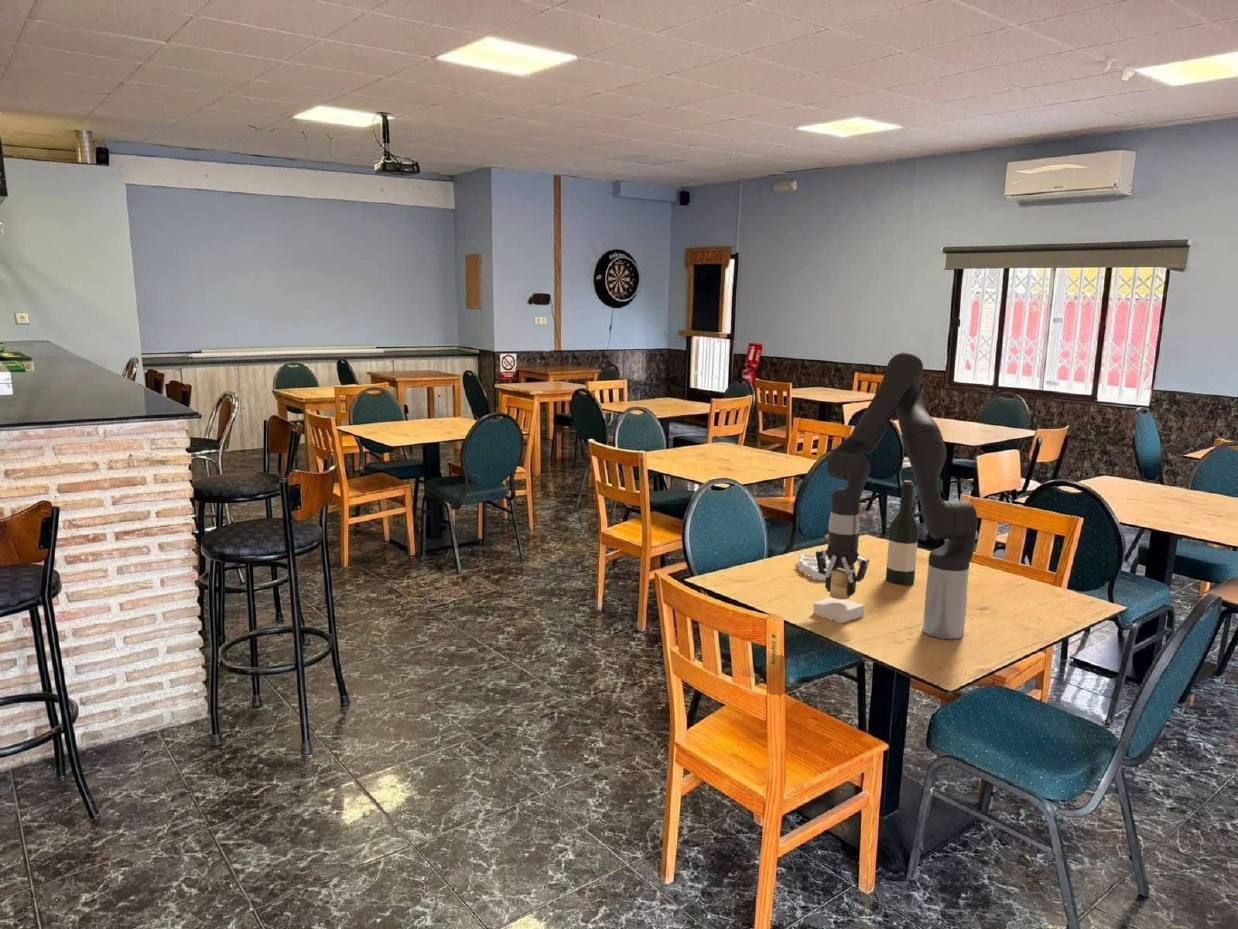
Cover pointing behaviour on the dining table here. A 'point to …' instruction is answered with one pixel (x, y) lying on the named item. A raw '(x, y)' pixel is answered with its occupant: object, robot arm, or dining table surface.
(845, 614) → the white base
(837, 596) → the ochre cylinder
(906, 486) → the wine bottle
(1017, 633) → the dining table surface
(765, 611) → the dining table surface
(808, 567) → the white holed flat part
